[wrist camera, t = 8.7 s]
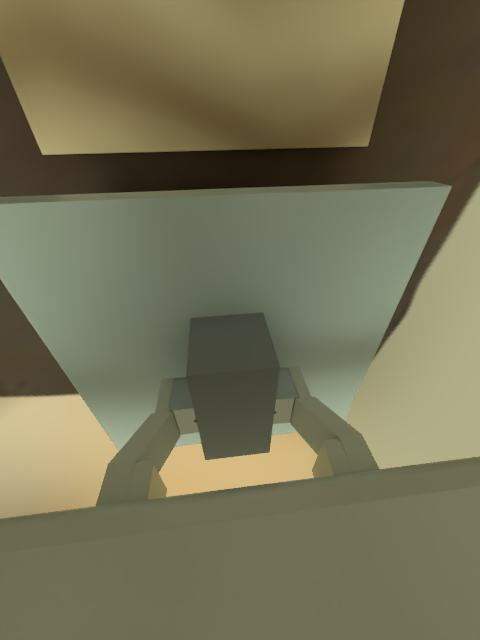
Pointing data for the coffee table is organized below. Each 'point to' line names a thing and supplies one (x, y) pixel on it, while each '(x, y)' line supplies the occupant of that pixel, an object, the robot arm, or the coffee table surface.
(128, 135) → the tan square mat
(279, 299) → the lid
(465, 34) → the coffee table surface
